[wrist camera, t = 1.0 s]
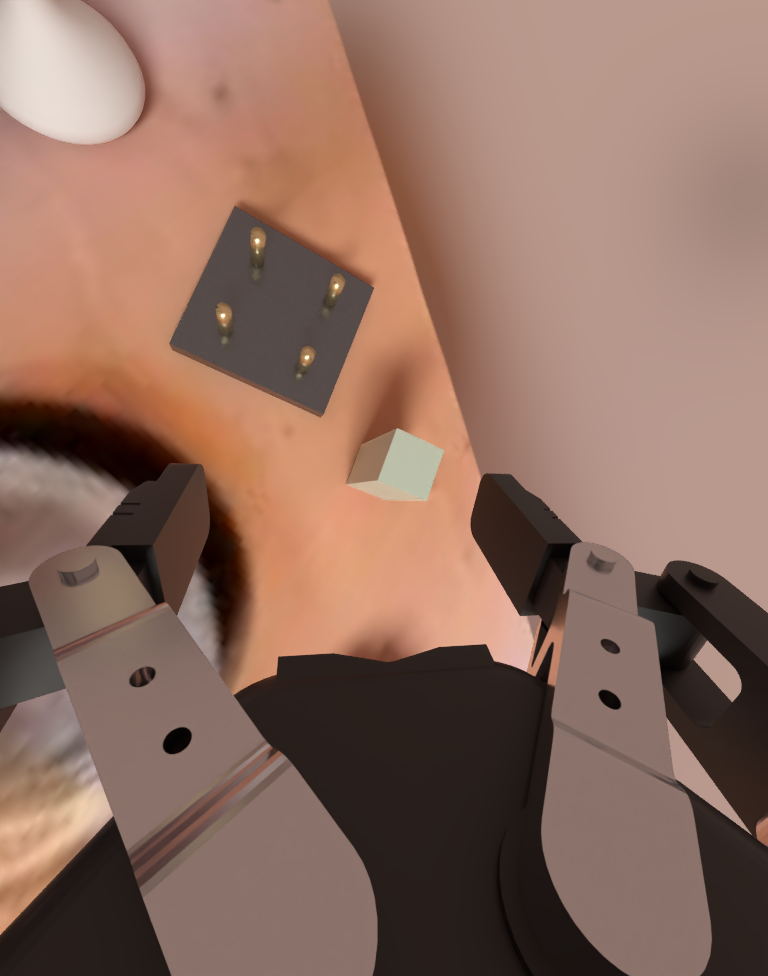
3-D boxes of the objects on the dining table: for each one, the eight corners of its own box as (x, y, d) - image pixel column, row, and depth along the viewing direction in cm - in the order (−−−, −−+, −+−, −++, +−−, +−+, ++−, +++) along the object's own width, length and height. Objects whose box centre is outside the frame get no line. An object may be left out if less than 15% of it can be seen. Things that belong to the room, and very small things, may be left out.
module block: (346, 484, 39) (377, 480, 30) (361, 444, 40) (397, 427, 30) (384, 500, 41) (426, 500, 31) (398, 461, 41) (444, 450, 32)
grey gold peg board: (172, 349, 34) (160, 326, 30) (235, 217, 36) (233, 175, 32) (320, 417, 39) (330, 406, 34) (369, 295, 41) (385, 268, 36)
